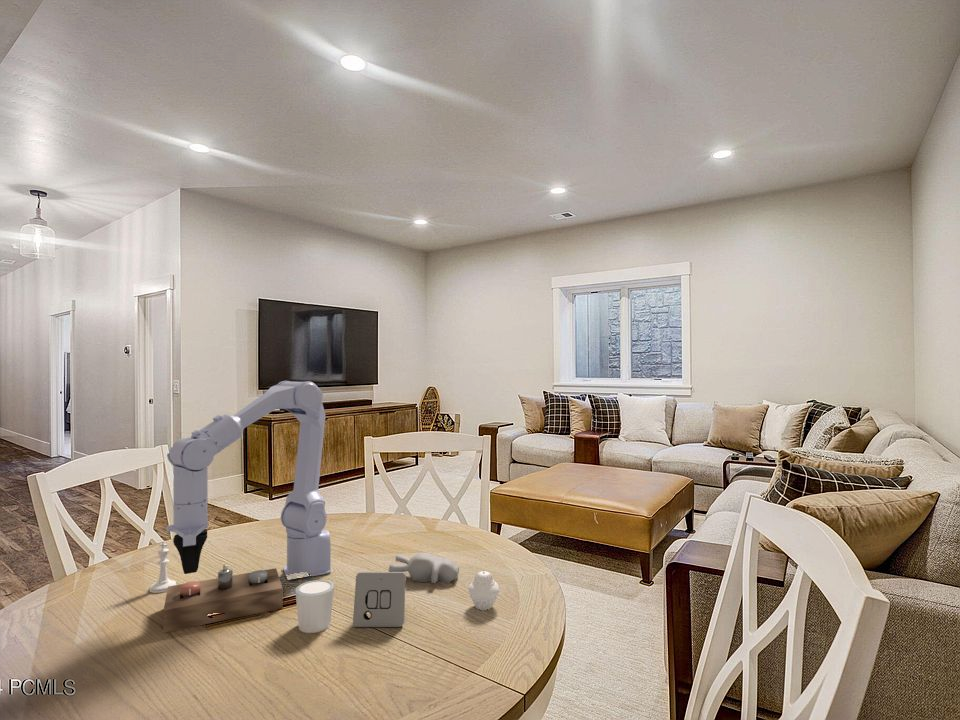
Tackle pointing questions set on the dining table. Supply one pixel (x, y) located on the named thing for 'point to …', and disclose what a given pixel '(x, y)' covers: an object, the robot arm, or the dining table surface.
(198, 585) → the knob red
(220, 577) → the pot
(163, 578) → the chess piece
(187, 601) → the mount
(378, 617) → the electrical switch
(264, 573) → the knob grey
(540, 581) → the dining table surface
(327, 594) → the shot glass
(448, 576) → the bunny figurine
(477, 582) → the white owl figurine
